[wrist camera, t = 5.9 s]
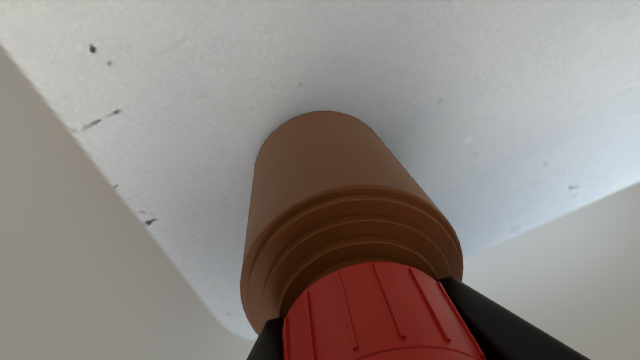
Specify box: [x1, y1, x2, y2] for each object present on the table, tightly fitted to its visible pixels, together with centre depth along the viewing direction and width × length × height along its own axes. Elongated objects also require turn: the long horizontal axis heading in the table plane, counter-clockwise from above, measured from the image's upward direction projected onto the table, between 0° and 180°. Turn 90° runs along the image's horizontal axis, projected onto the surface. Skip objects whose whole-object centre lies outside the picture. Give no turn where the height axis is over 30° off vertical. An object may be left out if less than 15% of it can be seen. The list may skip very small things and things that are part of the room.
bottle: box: [240, 111, 463, 336], centre depth 12 cm, size 6×6×11 cm
